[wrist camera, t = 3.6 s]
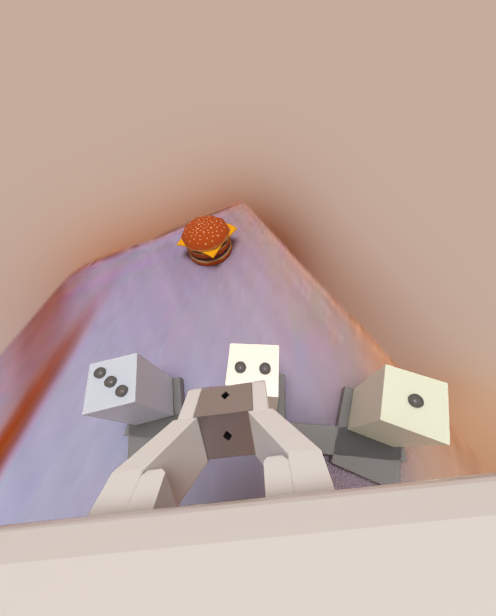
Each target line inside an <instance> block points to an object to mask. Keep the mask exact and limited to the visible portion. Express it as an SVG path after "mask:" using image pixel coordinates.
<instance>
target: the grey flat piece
mask: <svg viewBox="0 0 496 616" xmlns="http://www.w3.org/2000/svg"><path fill="white" fill-rule="evenodd" d="M172 388H173V413H174V416H170V417H166V418H162V419H158V420H154V421H150V422H146V423H142V424H138V425H133V424H128V425H127V428H126V431H125V435H124V436H129V444H128V459H129V458H130V457H131V456H132V455H134V454H135V453H136V452H137V451H138V450H139V449H141V448H142V447H143V446H144V445H145V444H146V443H148V442H149V441H150V440H151V439H152V438H153V437H155V436H156V435H157V434H158V433H159V432H160V431H162V430H163V429H164V428H165V427H166V426H167V425H169V424H170V423H171V422H172V421H173V420H177V419H178V417H179V414H180V411H181V409H182V406H183V404H184V386H183V379H182V378H180V377H178V378H174V379H172ZM353 390H354V389H351V388H348V387H344V388H343V389H342V393H341V399H340V404H339V410H338V415H337V421H336V426H326V425H313V424H301V423H290V424H292V425H293V426H294V427H295V428H296V429H297V430H299V431H300V432H301V433H302V434H303V435H304V436H306V437H307V438H308V439H309V440H310V441H311V442H313V443H314V444H315V445H316V446H317V447H318V448H320V449H321V451H322V454H330V459H329V462H330V463H332V464H334V465H337V466H339V467H341V468H343V469H346V470H348V471H350V472H353V473H355V474H357V475H359V476H362V477H364V478H366V479H369V480H371V481H373V482H375V483H378V484H380V485H385V484H394V483H400V467H401V461H406V462H407V459H406V455H405V451H404V447H391V446H389V445H386V444H384V443H381V442H379V441H376V440H373V439H371V438H368V437H366V436H363V435H361V434H358V433H356V432H353V431H350V430H348V429H347V428H348V422H349V416H350V409H351V403H352V397H353ZM277 412H278V413H279V414H280V415H281V416H282V417H283V418H285V374H279V387H278V406H277Z"/></svg>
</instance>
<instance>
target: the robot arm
mask: <svg viewBox="0 0 496 616" xmlns="http://www.w3.org/2000/svg"><path fill="white" fill-rule="evenodd" d="M254 454H256V456H257V458H258V459H259V461H260V462H261V464H262V465H263V467H264V479H265V496H266V497H263V498H253V499H244V500H234V501H225V502H216V503H206V504H197V505H188V506H178V505H179V504H180V502H181V501H182V499H183V498H184V496H185V495H186V493H187V492H188V490H189V489H190V487H191V486H192V484H193V483H194V481H195V480H196V479H197V477H198V476H199V474H200V473H201V471H202V470H203V468H204V467H205V465H206V464H207V462H208V460H210V459H217V458H224V457H231V456H242V455H254ZM0 616H496V473H488V474H479V475H469V476H460V477H450V478H441V479H432V480H422V481H413V482H404V483H394V484H385V485H376V486H366V487H357V488H348V489H338V490H335V488H334V486H333V483H332V480H331V477H330V474H329V471H328V468H327V466H326V463H325V460H324V457H323V454H322V451H321V449H320V448H318V447H317V446H316V445H315V444H314V443H313V442H311V441H310V440H309V439H308V438H307V437H306V436H304V435H303V434H302V433H301V432H300V431H299V430H297V429H296V428H295V427H294V426H293V425H292V424H290V423H289V422H288V421H287V420H286V419H285V418H283V417H282V416H281V415H280V414H279V413H278V412H276V411H275V410H274V409H273V408H272V409H269V404H268V397H267V389H266V382H265V380H260V381H254V382H249V383H242V384H235V385H225V386H215V387H206V388H197V389H190V390H189V391H188V393H187V396H186V398H185V401H184V404H183V406H182V409H181V411H180V414H179V417H178V419H177V420H173V421H172V422H171V423H170V424H169V425H167V426H166V427H165V428H164V429H163V430H162V431H160V432H159V433H158V434H157V435H156V436H155V437H153V438H152V439H151V440H150V441H149V442H148V443H146V444H145V445H144V446H143V447H142V448H141V449H139V450H138V451H137V452H136V453H135V454H134V455H132V456H131V457H130V458H129V459H128V460H127V461H125V462H124V463H123V464H122V465H121V466H120V467H118V468H117V469H116V470H115V471H114V472H113V473H112V474H111V476H110V477H109V479H108V481H107V483H106V484H105V486H104V488H103V490H102V491H101V493H100V495H99V497H98V498H97V500H96V502H95V504H94V505H93V507H92V509H91V511H90V512H89V514H88V516H85V517H75V518H66V519H56V520H47V521H38V522H28V523H19V524H10V525H0Z"/></svg>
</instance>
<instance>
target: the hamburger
mask: <svg viewBox="0 0 496 616" xmlns="http://www.w3.org/2000/svg"><path fill="white" fill-rule="evenodd" d="M236 229H237V228H236V227H234V226H232V225H230V224H227V223H225V221H224V220H223V219H222V218H218V217H214V216H210V215H208V216H203V217H198V218H196V219H194V220H193V221H191V222H190V223H188V224H187V225H186V226H185V229H184V231H183V234H182V236H181V237H182V238H181V240H180V241H179V242H178V244H177V245H181V246H184V247H186V248H187V250H188V251H189V255H190V257H191V259H192V260H193V261H194V262H196V263H197V264H199V265H204V266H211V265H216V264H218V263H220V262H223V261H224V260H225V259H226V258H227V257H228V256H229V255H230V253H231V250H232V243H231V241H230V235H231V234H232V233H233V232H234V231H235V230H236Z"/></svg>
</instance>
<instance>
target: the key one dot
mask: <svg viewBox="0 0 496 616" xmlns="http://www.w3.org/2000/svg"><path fill="white" fill-rule="evenodd" d="M448 407H449V405H448V384H447V383H445V382H442V381H438V380H435V379H432V378H429V377H425V376H422V375H419V374H416V373H412V372H409V371H406V370H403V369H399V368H396V367H393V366H390V365H386V364H385V365H384V366H383V367H382V368H380V369H379V370H378V371H376V372H375V373H374V374H372V375H371V376H370V377H368V378H367V379H366V380H365V381H363V382H362V383H361V384H359V385H358V386H357V387H355V388H354V390H353V397H352V403H351V409H350V416H349V422H348V428H347V429H348V430H350V431H353V432H356V433H358V434H361V435H363V436H366V437H368V438H371V439H373V440H376V441H379V442H381V443H384V444H386V445H389V446H391V447H412V446H443V445H450V433H449V408H448Z"/></svg>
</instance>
